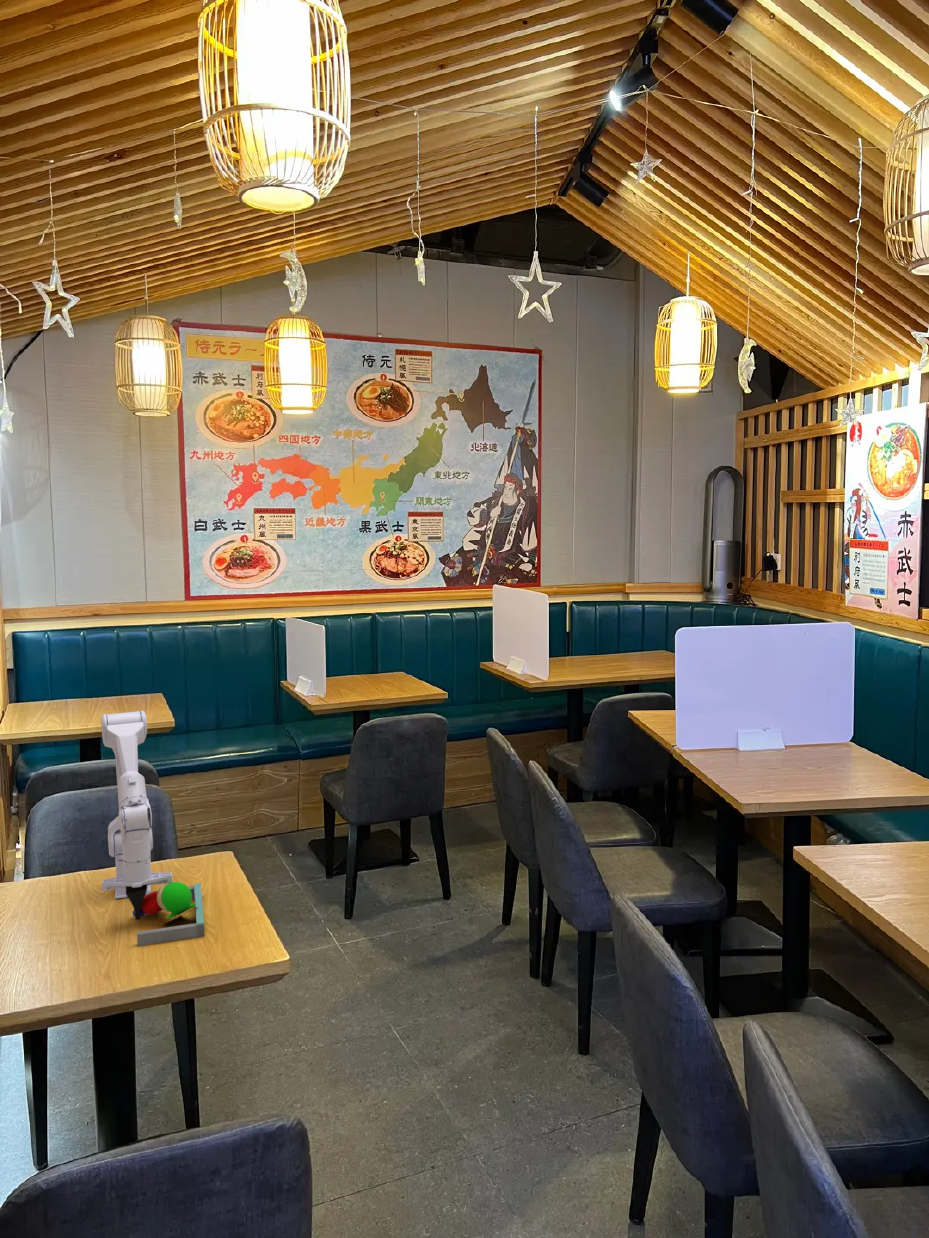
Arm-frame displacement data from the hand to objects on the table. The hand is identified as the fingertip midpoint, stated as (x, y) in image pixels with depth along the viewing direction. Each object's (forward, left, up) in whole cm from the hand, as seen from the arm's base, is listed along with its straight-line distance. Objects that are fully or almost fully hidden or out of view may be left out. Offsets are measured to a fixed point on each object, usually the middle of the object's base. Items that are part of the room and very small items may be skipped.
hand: (139, 917), depth 200 cm
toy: (0, +5, -2) cm, 6 cm away
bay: (0, +6, -1) cm, 6 cm away
